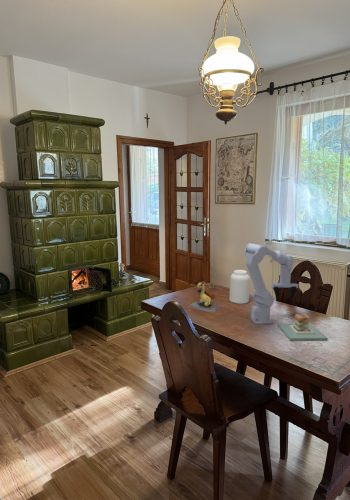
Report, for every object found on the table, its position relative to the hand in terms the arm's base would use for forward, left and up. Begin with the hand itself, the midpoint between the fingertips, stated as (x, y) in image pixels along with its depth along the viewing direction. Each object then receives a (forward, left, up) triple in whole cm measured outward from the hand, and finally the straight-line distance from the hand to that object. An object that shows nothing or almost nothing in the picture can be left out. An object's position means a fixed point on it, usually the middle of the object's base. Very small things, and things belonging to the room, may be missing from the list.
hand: (283, 299), depth 194 cm
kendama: (-38, +41, -10) cm, 57 cm away
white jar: (-19, +27, -10) cm, 34 cm away
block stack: (+1, -24, -8) cm, 25 cm away
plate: (+1, -24, -9) cm, 26 cm away
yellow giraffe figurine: (-42, +17, -10) cm, 47 cm away
